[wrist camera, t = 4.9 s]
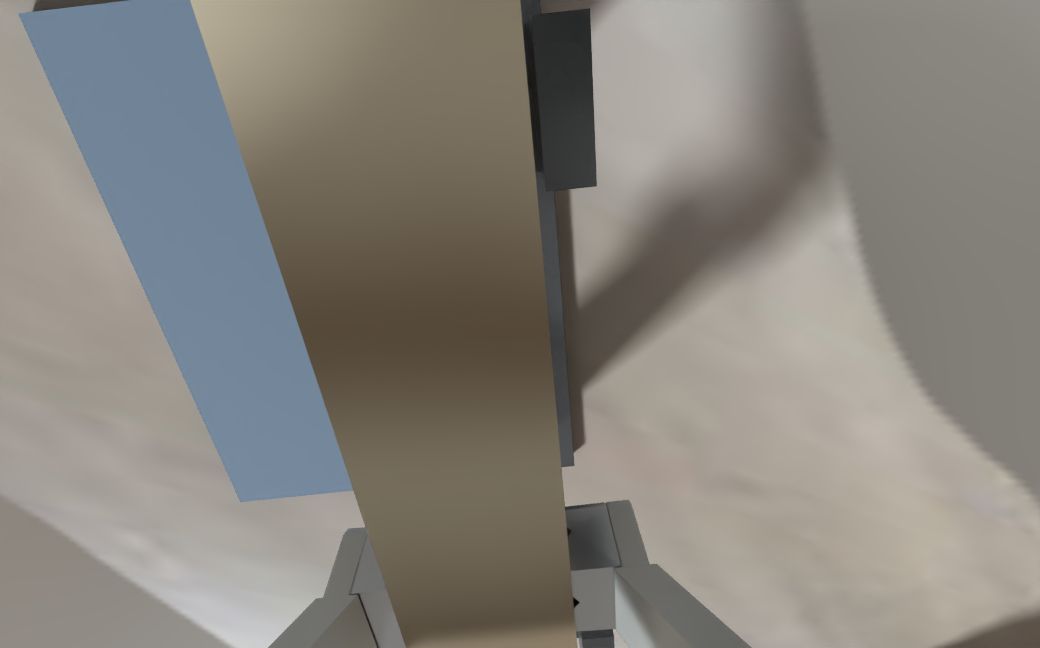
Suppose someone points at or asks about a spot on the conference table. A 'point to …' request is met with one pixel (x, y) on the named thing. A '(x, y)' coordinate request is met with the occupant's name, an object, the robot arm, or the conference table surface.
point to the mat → (193, 233)
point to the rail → (416, 289)
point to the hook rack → (560, 174)
